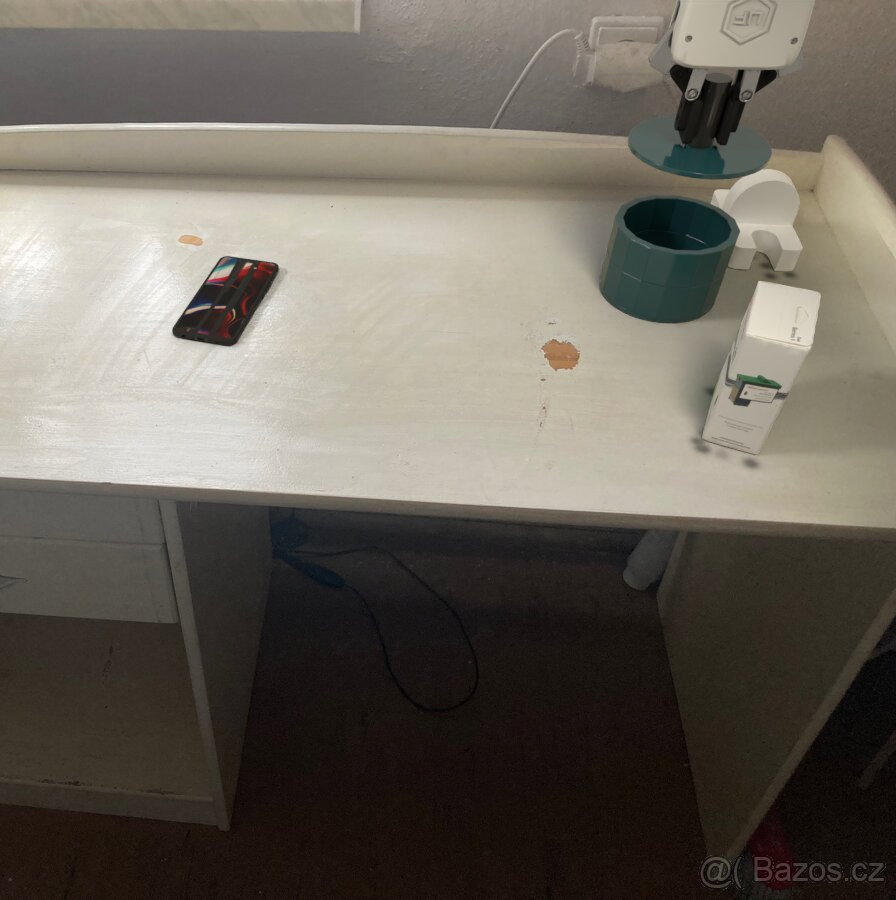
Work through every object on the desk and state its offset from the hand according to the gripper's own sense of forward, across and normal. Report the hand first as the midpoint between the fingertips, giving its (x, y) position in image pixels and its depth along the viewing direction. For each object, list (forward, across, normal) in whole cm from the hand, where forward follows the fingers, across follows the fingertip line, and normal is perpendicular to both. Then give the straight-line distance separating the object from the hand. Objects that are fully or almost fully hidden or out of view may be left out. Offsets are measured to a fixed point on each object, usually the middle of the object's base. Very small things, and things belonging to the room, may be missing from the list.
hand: (702, 136), depth 80 cm
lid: (+1, 0, 0) cm, 1 cm away
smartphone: (+17, -45, -7) cm, 49 cm away
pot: (+17, 0, 0) cm, 17 cm away
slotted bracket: (+17, +12, +12) cm, 24 cm away
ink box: (+17, +4, -20) cm, 27 cm away
